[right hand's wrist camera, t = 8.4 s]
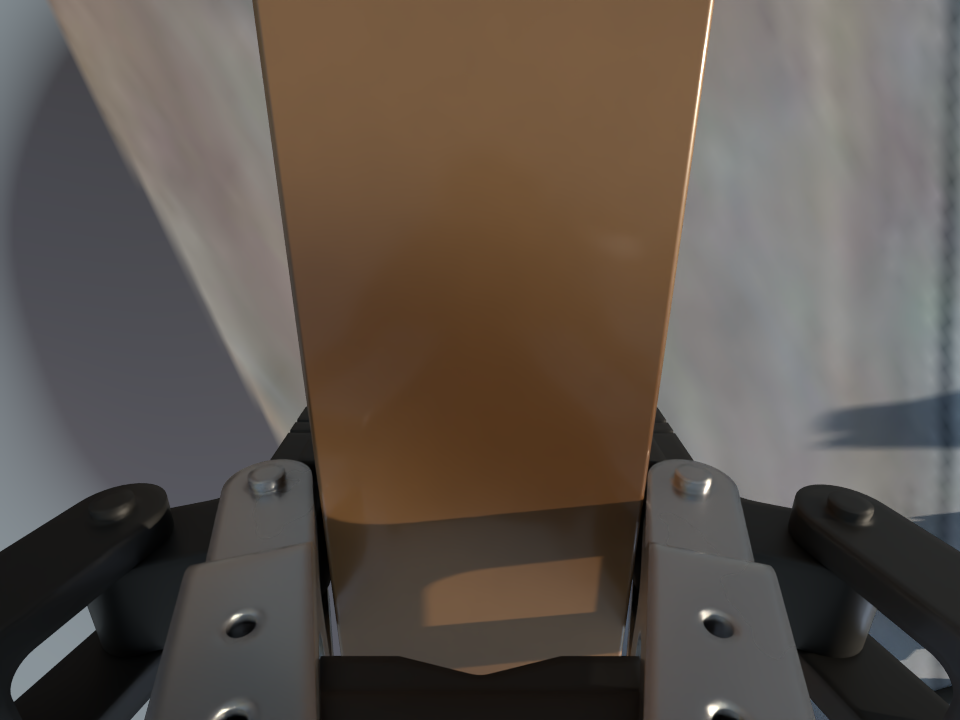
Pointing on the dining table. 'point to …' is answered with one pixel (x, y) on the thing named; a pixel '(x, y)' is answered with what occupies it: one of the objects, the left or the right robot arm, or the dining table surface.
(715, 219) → the dining table surface
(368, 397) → the post
